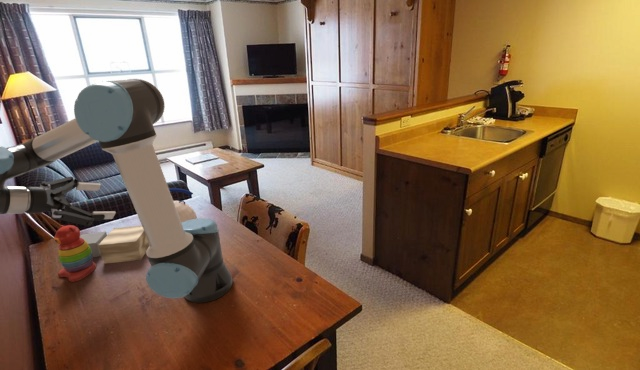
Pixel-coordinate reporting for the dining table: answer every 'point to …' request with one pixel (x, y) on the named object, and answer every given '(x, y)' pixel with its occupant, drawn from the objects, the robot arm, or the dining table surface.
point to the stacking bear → (73, 253)
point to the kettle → (184, 207)
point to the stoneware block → (94, 241)
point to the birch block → (124, 245)
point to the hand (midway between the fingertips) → (106, 200)
